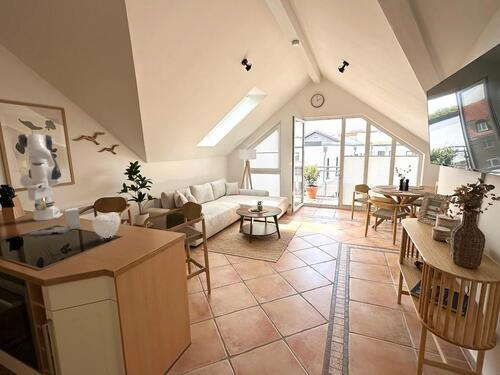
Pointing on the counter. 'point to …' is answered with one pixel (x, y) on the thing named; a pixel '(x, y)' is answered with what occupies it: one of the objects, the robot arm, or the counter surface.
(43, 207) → the pin
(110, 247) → the counter surface
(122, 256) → the counter surface
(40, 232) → the bar with square hole
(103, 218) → the decorative heart
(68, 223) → the skincare box
